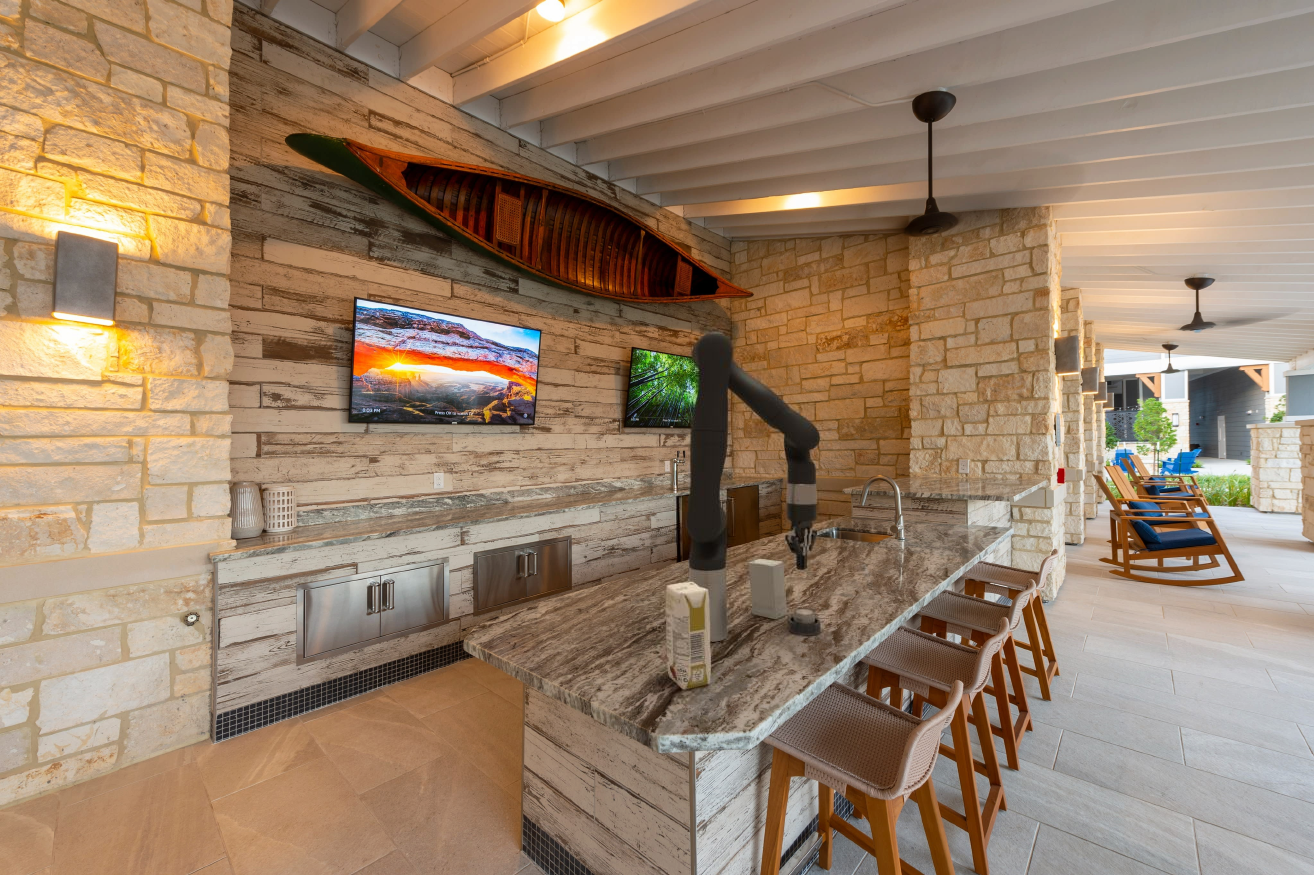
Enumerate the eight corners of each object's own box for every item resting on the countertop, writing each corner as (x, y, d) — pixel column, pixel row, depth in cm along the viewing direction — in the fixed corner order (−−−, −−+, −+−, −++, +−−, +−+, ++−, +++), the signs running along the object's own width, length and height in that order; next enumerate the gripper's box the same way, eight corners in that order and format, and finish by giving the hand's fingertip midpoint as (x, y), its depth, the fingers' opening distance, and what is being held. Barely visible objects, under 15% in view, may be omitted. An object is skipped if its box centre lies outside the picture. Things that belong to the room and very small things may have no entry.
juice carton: (681, 693, 101) (679, 594, 102) (663, 675, 109) (661, 584, 109) (715, 685, 104) (713, 589, 105) (695, 668, 112) (693, 579, 112)
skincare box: (787, 615, 145) (786, 561, 145) (775, 620, 141) (773, 565, 141) (762, 609, 151) (760, 557, 151) (749, 614, 147) (748, 560, 147)
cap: (808, 633, 129) (807, 617, 129) (789, 628, 133) (789, 612, 133) (819, 627, 133) (818, 611, 133) (800, 622, 137) (800, 607, 137)
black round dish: (796, 637, 129) (795, 626, 129) (783, 626, 136) (783, 616, 136) (825, 634, 130) (825, 624, 130) (812, 624, 138) (811, 614, 138)
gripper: (802, 504, 126) (802, 576, 126) (827, 500, 136) (827, 567, 136) (774, 502, 131) (775, 571, 131) (801, 498, 141) (801, 562, 141)
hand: (801, 569), depth 134 cm, fingers closed
